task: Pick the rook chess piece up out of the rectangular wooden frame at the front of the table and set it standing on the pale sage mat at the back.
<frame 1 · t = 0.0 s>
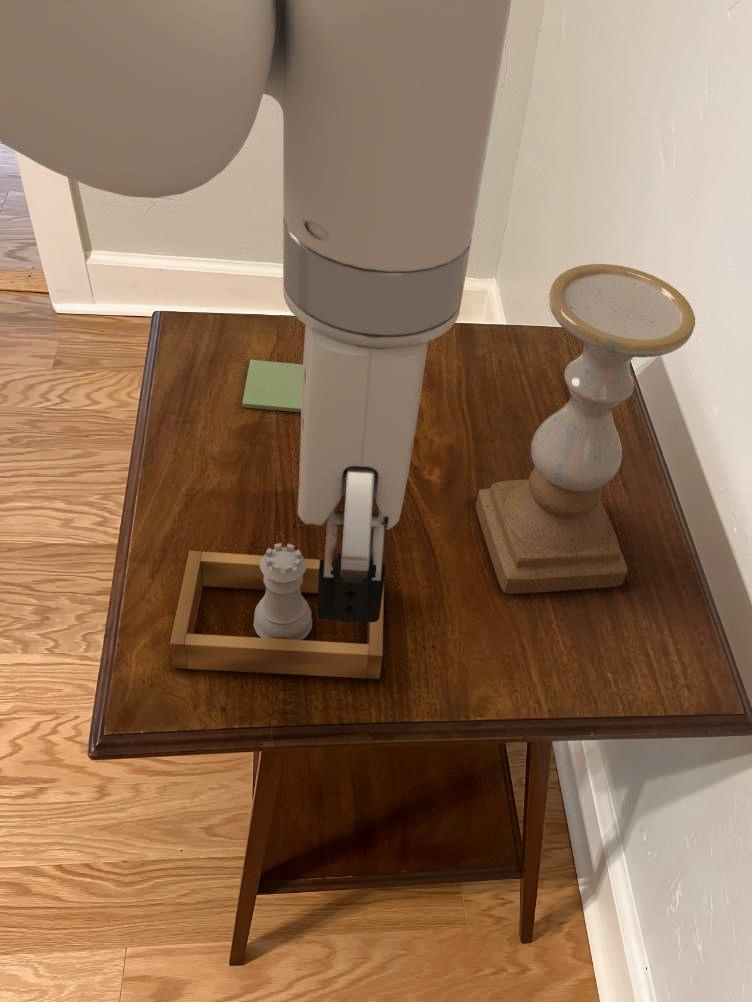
hand: (351, 548, 50), 19 cm above the table, tool pointing down, fingers open, 9 cm apart
rectangular wooden frame: (283, 626, 70), on the table
rook chess piece: (283, 627, 70), resting in rectangular wooden frame
mat: (319, 391, 89), on the table
candle holder: (546, 545, 80), on the table
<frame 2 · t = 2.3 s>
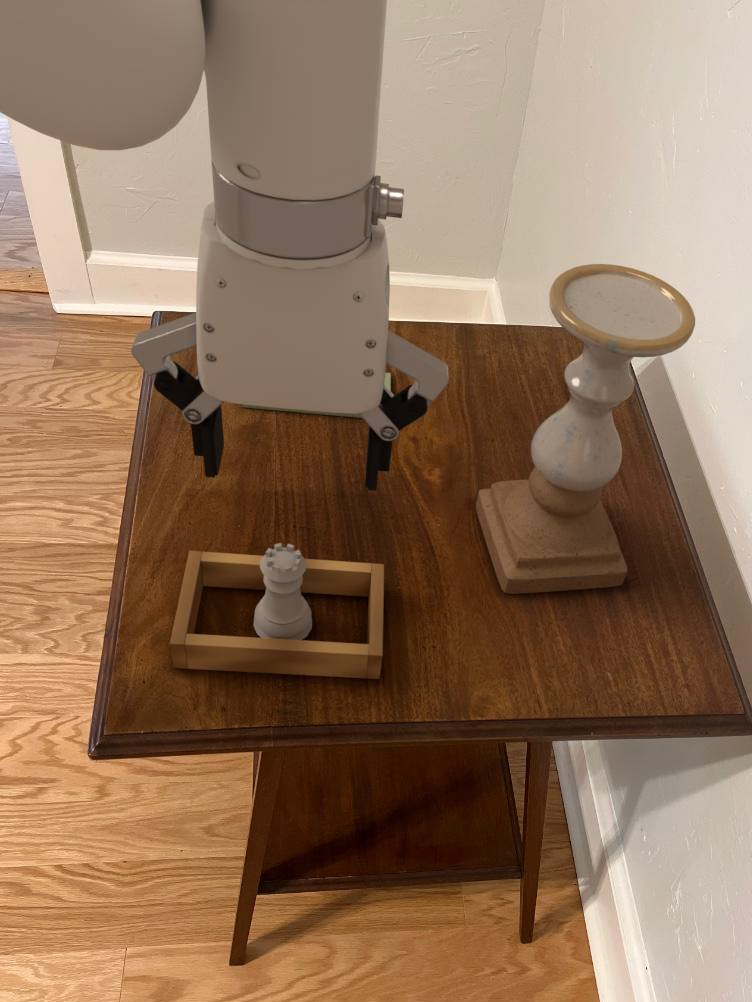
hand: (293, 468, 56), 17 cm above the table, tool pointing down, fingers open, 9 cm apart
nothing on the table moved.
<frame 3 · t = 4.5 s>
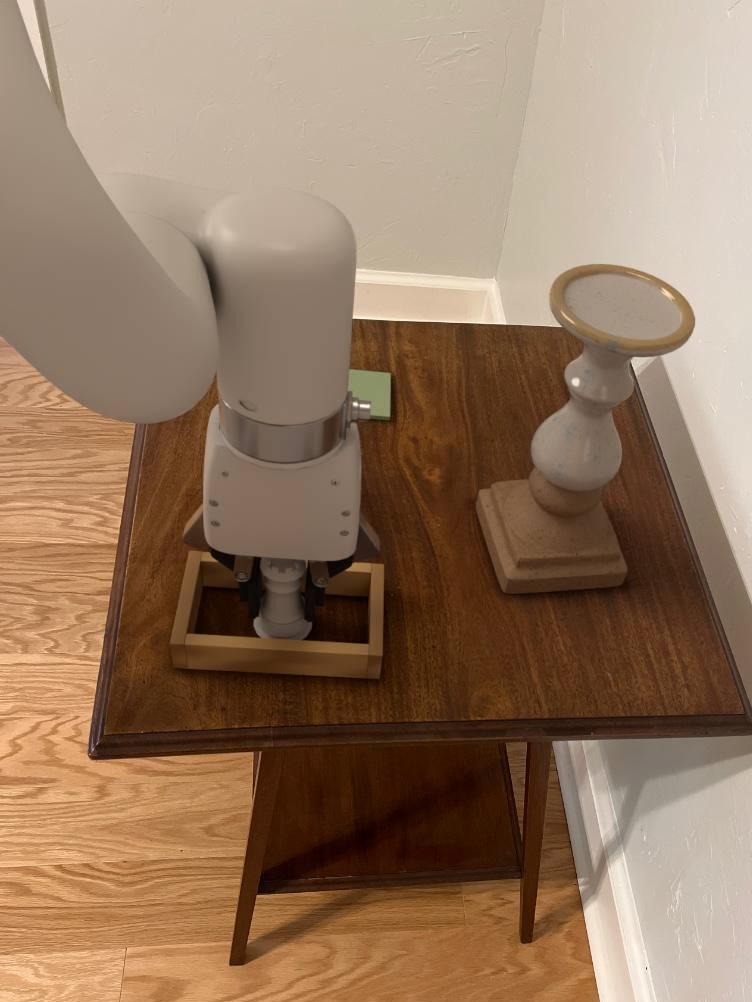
hand: (283, 604, 68), 3 cm above the table, tool pointing down, fingers closed on rook chess piece, 3 cm apart
rook chess piece: (283, 627, 70), resting in rectangular wooden frame, touching gripper
everything else where it was.
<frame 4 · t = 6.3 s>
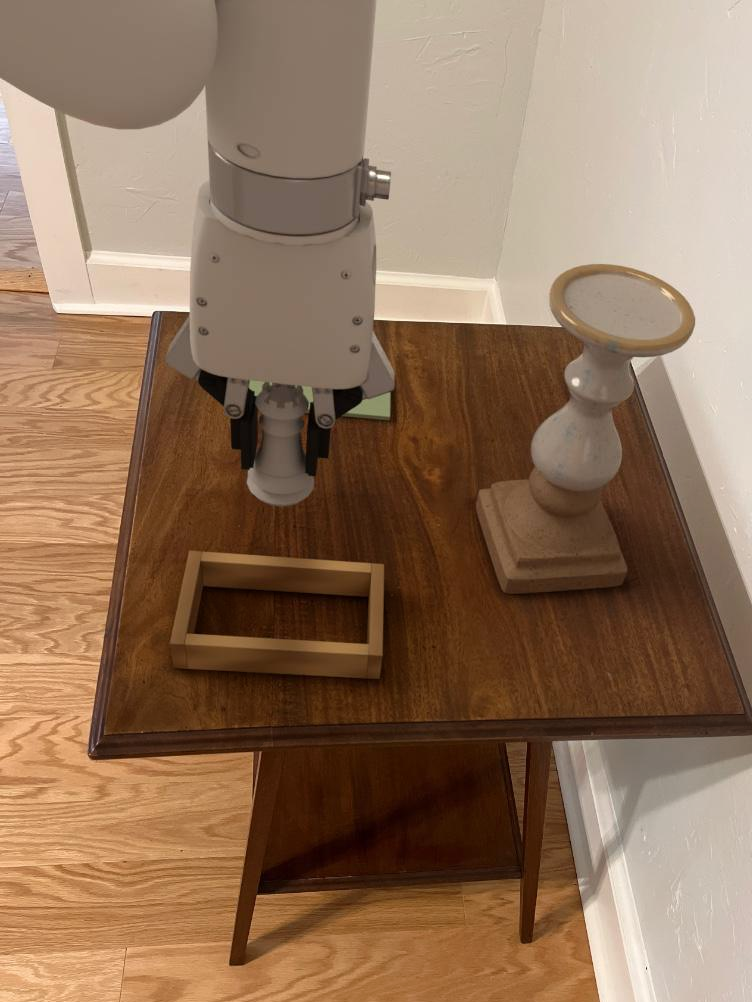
hand: (281, 456, 59), 16 cm above the table, tool pointing down, fingers closed on rook chess piece, 3 cm apart
rook chess piece: (280, 489, 61), point 13 cm above the table, touching gripper
everything else where it was.
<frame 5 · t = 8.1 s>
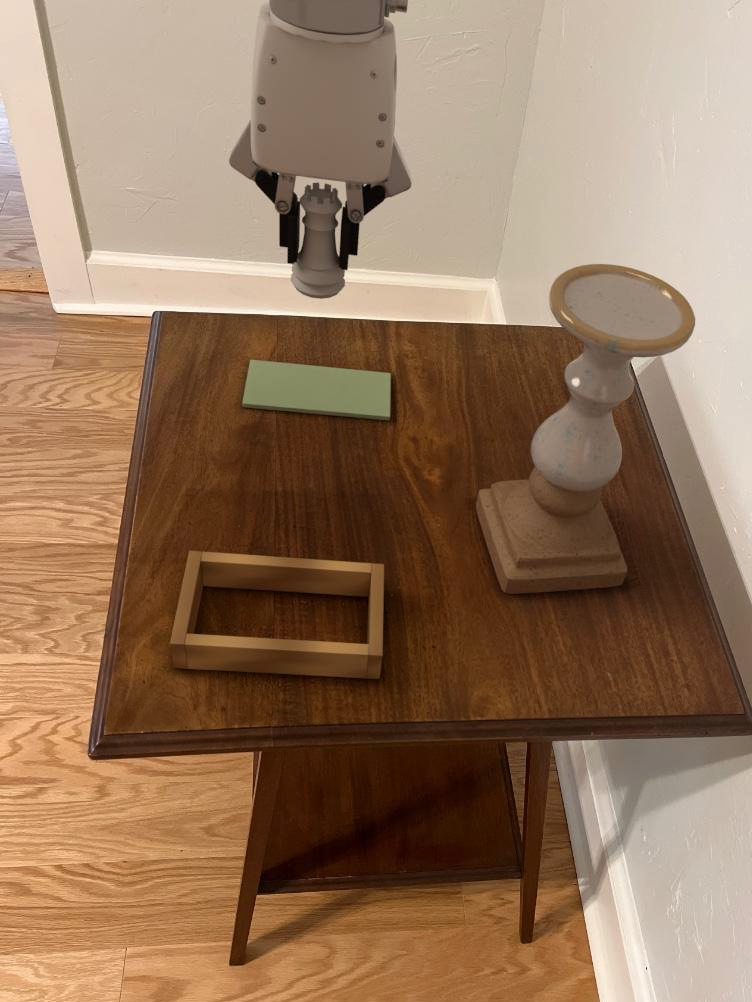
hand: (318, 256, 73), 17 cm above the table, tool pointing down, fingers closed on rook chess piece, 3 cm apart
rook chess piece: (317, 287, 75), point 14 cm above the table, touching gripper
everything else where it was.
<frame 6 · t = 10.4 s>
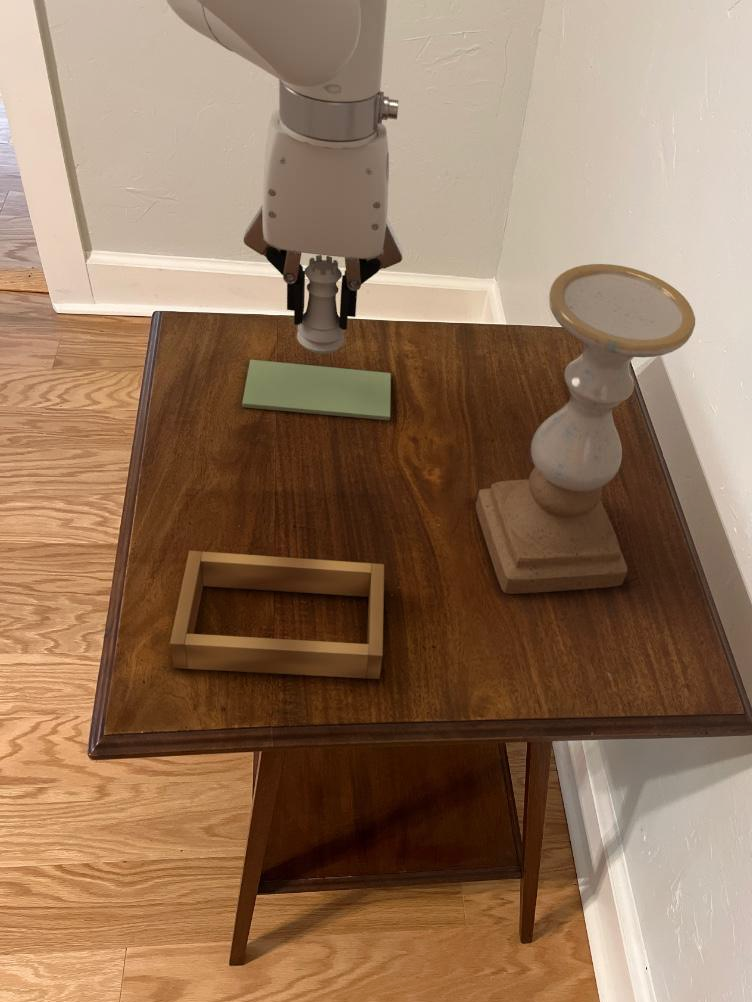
hand: (321, 317, 83), 8 cm above the table, tool pointing down, fingers closed on rook chess piece, 3 cm apart
rook chess piece: (320, 343, 85), point 6 cm above the table, touching gripper
everything else where it was.
when the fingers open (3 cm above the table, at t = 11.9 s): rook chess piece stays where it is, resting on mat.
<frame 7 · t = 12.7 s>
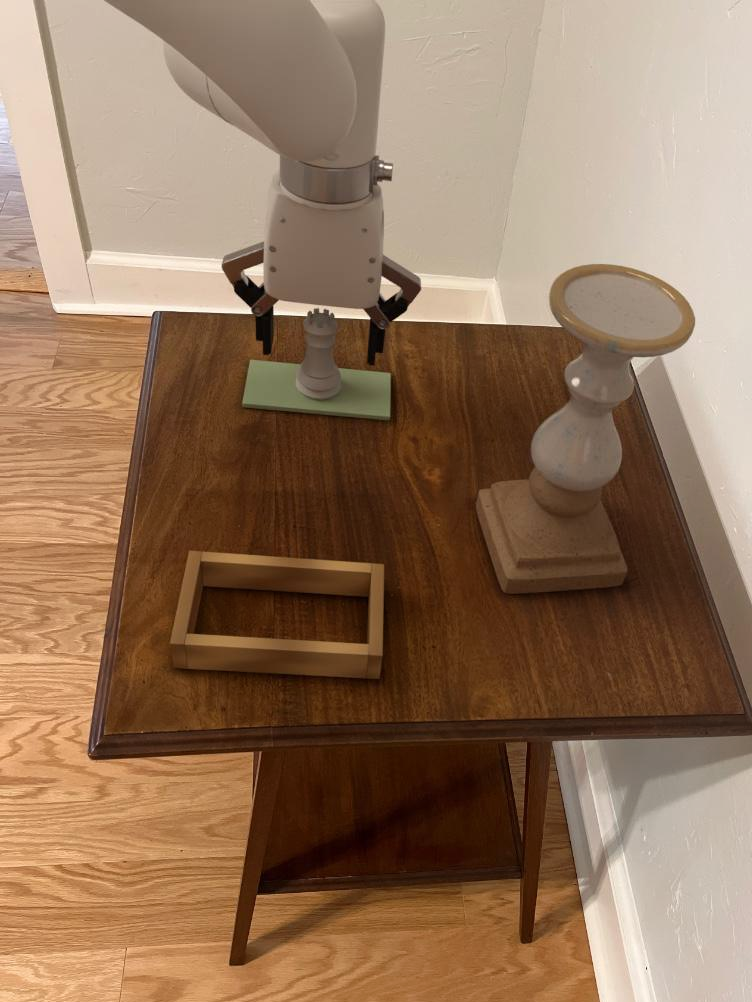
hand: (320, 351, 86), 5 cm above the table, tool pointing down, fingers open, 9 cm apart
rook chess piece: (318, 389, 89), resting on mat
everything else where it was.
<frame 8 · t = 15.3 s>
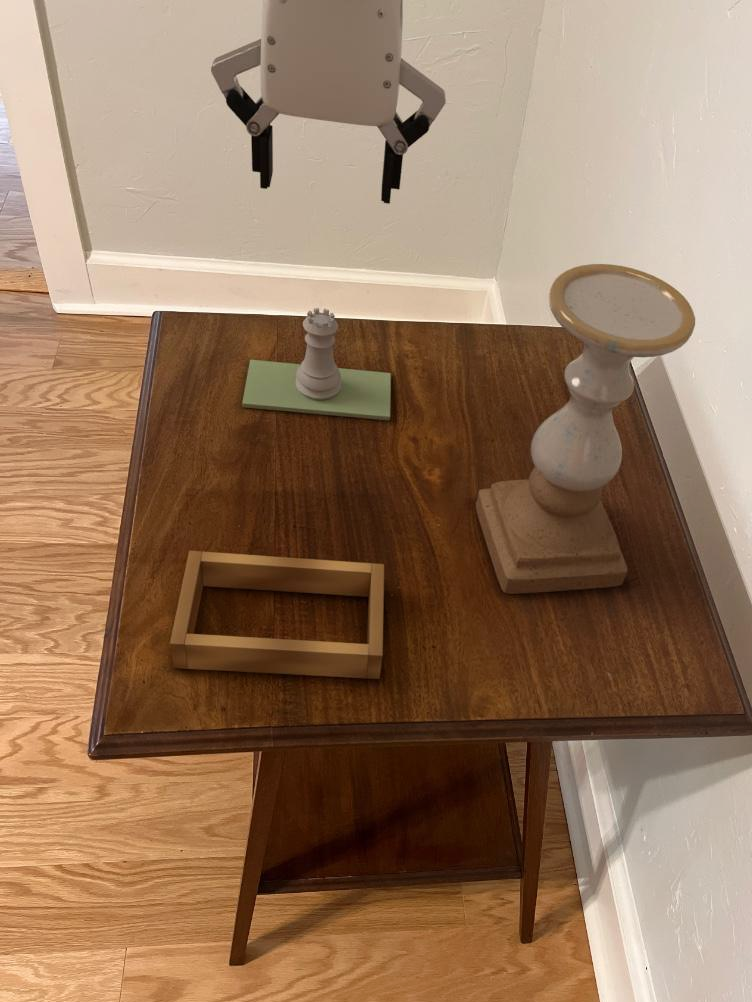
hand: (326, 188, 74), 20 cm above the table, tool pointing down, fingers open, 9 cm apart
nothing on the table moved.
at the end: rook chess piece inside the target area on the mat (0.1 cm from its centre), point 0.3 cm above the mat's base; rook chess piece tilted 0°; the gripper is holding nothing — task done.
